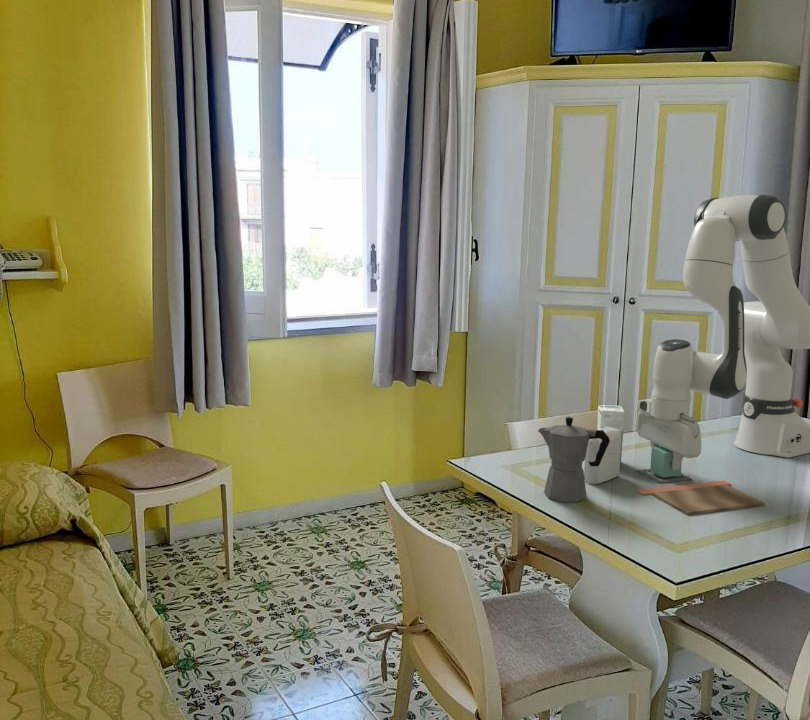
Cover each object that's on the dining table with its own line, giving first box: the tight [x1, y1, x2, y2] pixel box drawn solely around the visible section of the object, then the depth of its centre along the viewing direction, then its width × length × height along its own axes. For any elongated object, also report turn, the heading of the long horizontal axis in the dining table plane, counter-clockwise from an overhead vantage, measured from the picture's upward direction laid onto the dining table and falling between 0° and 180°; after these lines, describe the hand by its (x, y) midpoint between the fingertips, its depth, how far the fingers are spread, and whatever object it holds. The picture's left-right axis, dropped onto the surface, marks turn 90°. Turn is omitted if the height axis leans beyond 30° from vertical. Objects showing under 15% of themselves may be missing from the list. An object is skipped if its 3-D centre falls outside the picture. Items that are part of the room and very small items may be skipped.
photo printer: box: [584, 427, 621, 485], centre depth 188 cm, size 10×4×12 cm, turn 132°
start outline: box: [636, 468, 693, 484], centre depth 192 cm, size 9×9×1 cm
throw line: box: [636, 480, 732, 496], centre depth 183 cm, size 24×2×1 cm, turn 108°
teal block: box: [649, 446, 683, 478], centre depth 191 cm, size 5×5×6 cm
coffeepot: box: [537, 416, 610, 504], centre depth 176 cm, size 15×9×18 cm, turn 75°
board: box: [652, 485, 766, 516], centre depth 176 cm, size 20×12×1 cm, turn 108°
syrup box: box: [596, 404, 626, 467], centre depth 199 cm, size 6×6×14 cm
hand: (665, 464), depth 192 cm, fingers closed on teal block, 5 cm apart
